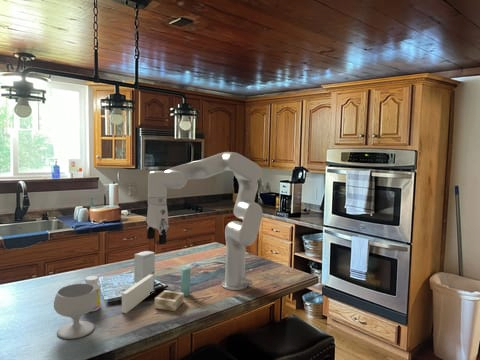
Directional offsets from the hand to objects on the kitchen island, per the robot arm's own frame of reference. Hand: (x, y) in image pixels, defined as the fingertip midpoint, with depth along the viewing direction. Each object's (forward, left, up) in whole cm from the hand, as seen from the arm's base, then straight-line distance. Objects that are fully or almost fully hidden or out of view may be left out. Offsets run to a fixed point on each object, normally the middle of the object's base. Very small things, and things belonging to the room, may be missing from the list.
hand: (156, 241), depth 147 cm
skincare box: (+15, -18, -27) cm, 35 cm away
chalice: (+15, +29, -27) cm, 43 cm away
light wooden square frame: (-7, 0, -27) cm, 27 cm away
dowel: (-9, -12, -27) cm, 30 cm away
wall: (+7, +1, -27) cm, 28 cm away
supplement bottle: (+21, +13, -27) cm, 37 cm away
